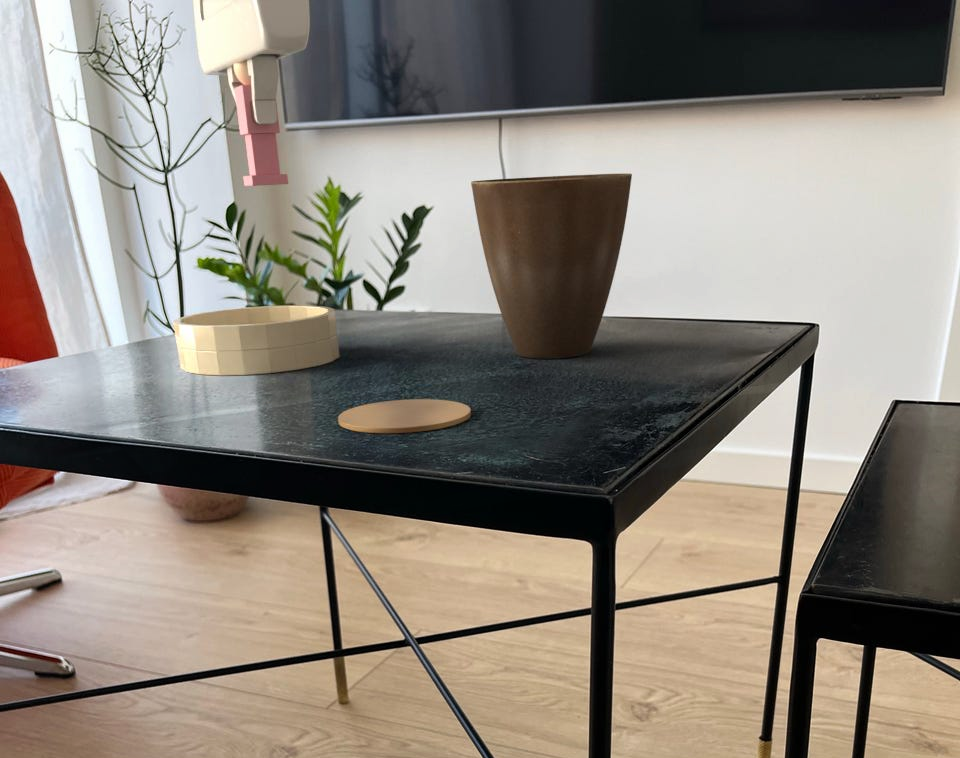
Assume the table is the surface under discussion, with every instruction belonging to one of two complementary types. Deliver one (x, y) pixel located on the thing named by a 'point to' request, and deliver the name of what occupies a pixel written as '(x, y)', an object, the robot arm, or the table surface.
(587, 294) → the flower pot
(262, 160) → the doll
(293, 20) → the robot arm
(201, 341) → the basin
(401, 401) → the mat
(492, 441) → the table surface
